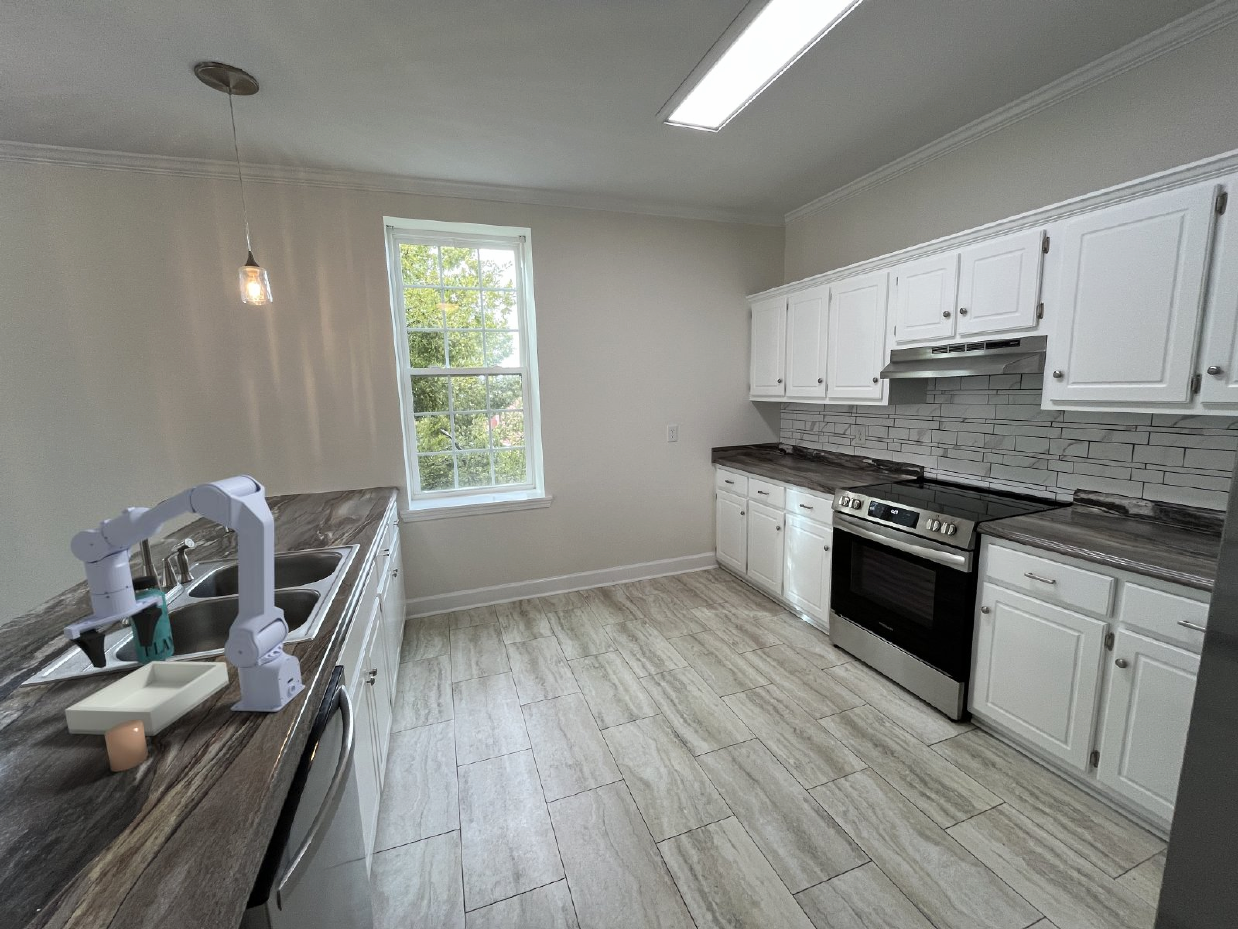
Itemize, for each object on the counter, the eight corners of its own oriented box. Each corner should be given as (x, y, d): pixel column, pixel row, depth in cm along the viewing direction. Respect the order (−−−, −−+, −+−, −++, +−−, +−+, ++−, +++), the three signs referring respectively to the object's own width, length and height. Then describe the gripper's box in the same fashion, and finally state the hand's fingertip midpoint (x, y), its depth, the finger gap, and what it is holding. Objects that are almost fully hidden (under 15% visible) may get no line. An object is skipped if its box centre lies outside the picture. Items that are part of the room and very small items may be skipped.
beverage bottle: (143, 674, 108) (127, 585, 105) (132, 665, 112) (117, 579, 109) (181, 660, 114) (167, 575, 111) (170, 652, 117) (156, 570, 114)
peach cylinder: (155, 752, 85) (149, 720, 84) (128, 772, 80) (122, 738, 79) (131, 751, 85) (125, 719, 84) (103, 771, 80) (96, 737, 80)
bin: (228, 683, 104) (225, 662, 104) (154, 736, 89) (149, 712, 88) (156, 681, 105) (152, 661, 105) (69, 733, 90) (64, 710, 89)
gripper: (139, 573, 102) (150, 635, 104) (45, 603, 88) (60, 674, 90) (166, 575, 101) (176, 639, 103) (75, 606, 87) (89, 679, 89)
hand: (124, 656), depth 97 cm, fingers open, 7 cm apart
